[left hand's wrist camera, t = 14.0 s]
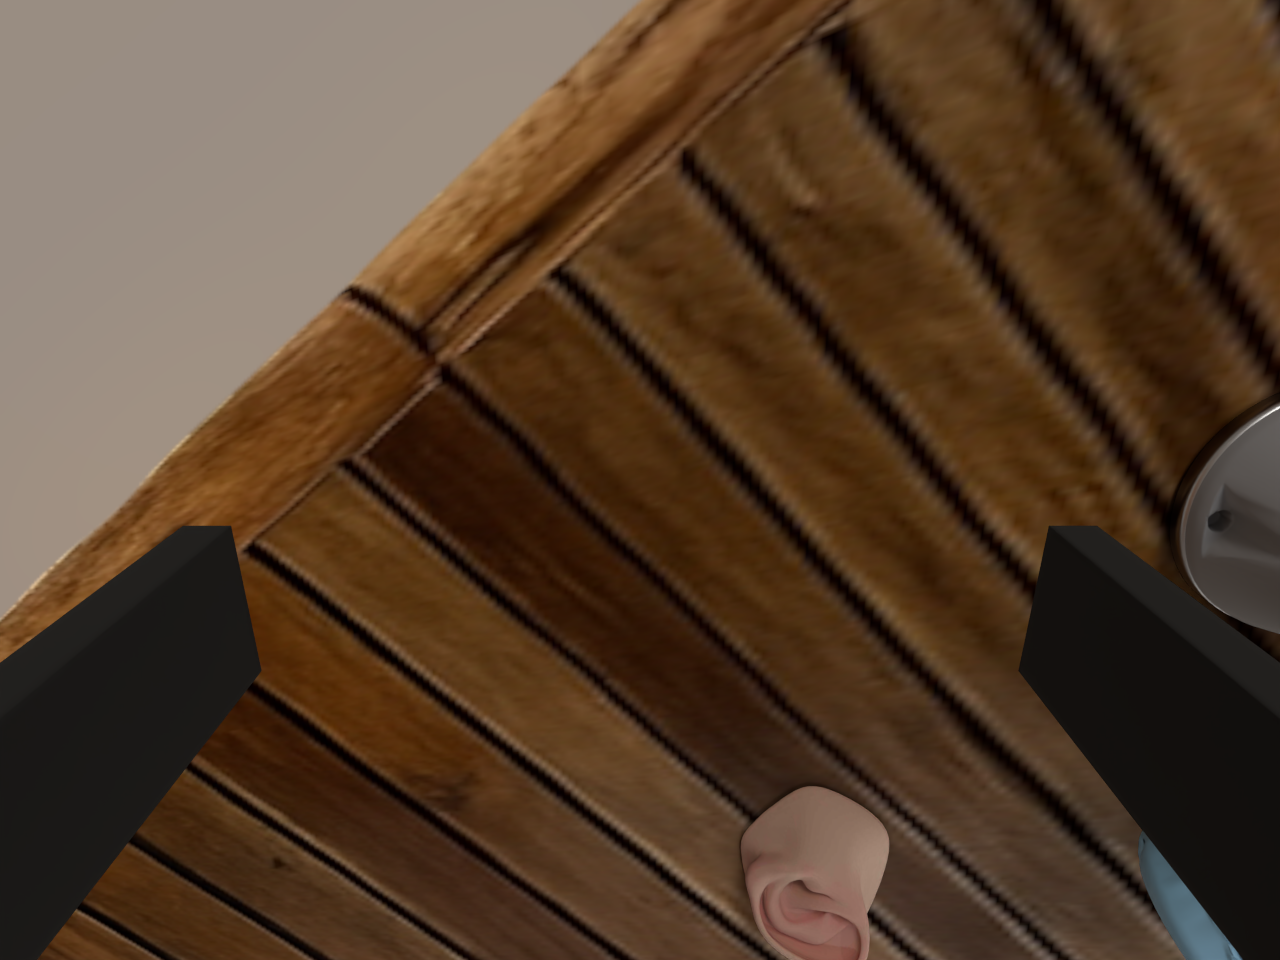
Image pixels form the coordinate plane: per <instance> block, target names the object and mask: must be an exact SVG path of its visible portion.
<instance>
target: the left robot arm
mask: <svg viewBox="0 0 1280 960" xmlns="http://www.w3.org/2000/svg"><path fill="white" fill-rule="evenodd" d="M1170 543H1171V550H1172V554H1173V558H1174V560H1175V563H1176V566H1177V568H1178V570H1179V572H1180V573H1181V575H1182V577H1183V578H1184V580H1185V581H1186V582H1187V584H1188V585H1189V586H1190V587H1191V588H1192V589H1193V590H1194V591H1195V592H1196V593H1198V594H1199V595H1200V596H1201V597H1203V598H1204V599H1205V600H1207V601H1208V602H1209V603H1211V604H1212V605H1213V606H1215V607H1216V608H1218V609H1219V610H1221V611H1222V612H1224V613H1226V614H1228V615H1230V616H1232V617H1234V618H1236V619H1238V620H1240V621H1242V622H1244V623H1247V624H1249V625H1252V626H1255V627H1258V628H1261V629H1265V630H1268V631H1271V632H1275V633H1278V634H1280V393H1277V394H1275V395H1273V396H1271V397H1269V398H1267V399H1265V400H1263V401H1261V402H1259V403H1257V404H1256V405H1254V406H1252V407H1251V408H1249V409H1247V410H1246V411H1244V412H1243V413H1242V414H1240V415H1239V416H1237V417H1236V418H1235V419H1233V420H1232V421H1231V422H1230V423H1228V424H1227V425H1226V426H1225V427H1224V428H1223V429H1222V430H1221V431H1219V432H1218V433H1217V434H1216V435H1215V436H1214V437H1213V438H1212V439H1211V441H1210V442H1209V443H1208V444H1207V445H1206V446H1205V447H1204V448H1203V450H1202V451H1201V452H1200V454H1199V455H1198V456H1197V457H1196V459H1195V460H1194V462H1193V463H1192V465H1191V466H1190V468H1189V470H1188V471H1187V473H1186V475H1185V477H1184V479H1183V481H1182V483H1181V485H1180V488H1179V490H1178V492H1177V495H1176V498H1175V501H1174V505H1173V509H1172V514H1171V521H1170ZM260 672H261V666H260V662H259V657H258V652H257V647H256V643H255V638H254V633H253V628H252V624H251V619H250V614H249V609H248V605H247V600H246V595H245V590H244V586H243V581H242V576H241V571H240V567H239V562H238V557H237V552H236V548H235V543H234V538H233V533H232V529H231V526H182V527H181V528H180V529H178V530H177V531H176V532H174V533H173V534H172V535H170V536H169V537H168V538H166V539H165V540H164V541H162V542H161V543H160V544H158V545H157V546H156V547H154V548H153V549H152V550H150V551H149V552H148V553H146V554H145V555H144V556H142V557H141V558H140V559H138V560H137V561H136V562H134V563H133V564H132V565H130V566H129V567H128V568H126V569H125V570H124V571H122V572H121V573H120V574H118V575H117V576H116V577H114V578H113V579H112V580H110V581H109V582H108V583H106V584H105V585H104V586H102V587H101V588H100V589H98V590H97V591H96V592H94V593H93V594H91V595H90V596H89V597H87V598H86V599H85V600H83V601H82V602H81V603H79V604H78V605H77V606H75V607H74V608H73V609H71V610H70V611H69V612H67V613H66V614H65V615H63V616H62V617H61V618H59V619H58V620H57V621H55V622H54V623H53V624H51V625H50V626H49V627H47V628H46V629H45V630H43V631H42V632H41V633H39V634H38V635H37V636H35V637H34V638H33V639H31V640H30V641H29V642H27V643H26V644H25V645H23V646H22V647H21V648H19V649H18V650H17V651H15V652H14V653H13V654H11V655H10V656H9V657H7V658H6V659H5V660H3V661H2V662H1V663H0V960H37V959H38V958H39V956H40V955H41V954H42V952H43V951H44V950H45V949H46V947H47V946H48V945H49V943H50V942H51V941H52V940H53V938H54V937H55V936H56V934H57V933H58V932H59V931H60V929H61V928H62V927H63V925H64V924H65V923H66V922H67V920H68V919H69V918H70V916H71V915H72V914H73V913H74V911H75V910H76V909H77V907H78V906H79V905H80V904H81V902H82V901H83V900H84V898H85V897H86V896H87V895H88V893H89V892H90V891H91V889H92V888H93V887H94V886H95V884H96V883H97V882H98V880H99V879H100V878H101V877H102V875H103V874H104V873H105V871H106V870H107V869H108V868H109V866H110V865H111V864H112V862H113V861H114V860H115V859H116V857H117V856H118V855H119V853H120V852H121V851H122V850H123V848H124V847H125V846H126V844H127V843H128V842H129V841H130V839H131V838H132V837H133V835H134V834H135V833H136V832H137V830H138V829H139V828H140V826H141V825H142V824H143V823H144V821H145V820H146V819H147V817H148V816H149V815H150V814H151V812H152V811H153V810H154V808H155V807H156V806H157V805H158V803H159V802H160V801H161V799H162V798H163V797H164V796H165V794H166V793H167V792H168V790H169V789H170V788H171V787H172V785H173V784H174V783H175V781H176V780H177V779H178V778H179V776H180V775H181V774H182V772H183V771H184V770H185V769H186V767H187V766H188V765H189V763H190V762H191V761H192V760H193V758H194V757H195V756H196V754H197V753H198V752H199V751H200V749H201V748H202V747H203V745H204V744H205V743H206V741H207V740H208V739H209V738H210V736H211V735H212V734H213V733H214V731H215V730H216V729H217V727H218V726H219V725H220V723H221V722H222V721H223V720H224V718H225V717H226V716H227V714H228V713H229V712H230V711H231V709H232V708H233V707H234V705H235V704H236V703H237V702H238V700H239V699H240V698H241V696H242V695H243V694H244V693H245V691H246V690H247V689H248V687H249V686H250V685H251V684H252V682H253V681H254V680H255V678H256V677H257V676H258V675H259V673H260ZM1019 672H1020V673H1021V675H1022V676H1023V677H1024V678H1025V680H1026V681H1027V682H1028V684H1029V685H1030V686H1031V687H1032V689H1033V690H1034V691H1035V693H1036V694H1037V695H1038V696H1039V698H1040V699H1041V700H1042V702H1043V703H1044V704H1045V705H1046V707H1047V708H1048V709H1049V711H1050V712H1051V713H1052V714H1053V716H1054V717H1055V718H1056V720H1057V721H1058V722H1059V724H1060V725H1061V726H1062V727H1063V729H1064V730H1065V731H1066V733H1067V734H1068V735H1069V736H1070V738H1071V739H1072V740H1073V742H1074V743H1075V744H1076V745H1077V747H1078V748H1079V749H1080V751H1081V752H1082V753H1083V754H1084V756H1085V757H1086V758H1087V760H1088V761H1089V762H1090V763H1091V765H1092V766H1093V767H1094V769H1095V770H1096V771H1097V772H1098V774H1099V775H1100V776H1101V778H1102V779H1103V780H1104V781H1105V783H1106V784H1107V785H1108V787H1109V788H1110V789H1111V790H1112V792H1113V793H1114V794H1115V796H1116V797H1117V798H1118V799H1119V801H1120V802H1121V803H1122V805H1123V806H1124V807H1125V808H1126V810H1127V811H1128V812H1129V814H1130V815H1131V816H1132V817H1133V819H1134V820H1135V821H1136V823H1137V824H1138V825H1139V826H1140V828H1141V829H1142V832H1141V835H1140V838H1139V848H1138V855H1139V860H1140V863H1139V865H1140V869H1141V874H1142V878H1143V880H1144V883H1145V886H1146V889H1147V891H1148V893H1149V896H1150V898H1151V900H1152V902H1153V904H1154V906H1155V908H1156V910H1157V912H1158V914H1159V916H1160V918H1161V920H1162V922H1163V923H1164V925H1165V927H1166V928H1167V930H1168V932H1169V934H1170V935H1171V937H1172V938H1173V940H1174V942H1175V943H1176V945H1177V946H1178V948H1179V950H1180V951H1181V953H1182V954H1183V956H1184V957H1185V959H1186V960H1280V663H1279V662H1278V661H1277V660H1275V659H1274V658H1273V657H1271V656H1270V655H1269V654H1267V653H1266V652H1265V651H1263V650H1262V649H1261V648H1259V647H1258V646H1257V645H1255V644H1254V643H1253V642H1251V641H1250V640H1249V639H1247V638H1246V637H1245V636H1243V635H1242V634H1241V633H1239V632H1238V631H1237V630H1235V629H1234V628H1233V627H1231V626H1230V625H1229V624H1227V623H1226V622H1225V621H1223V620H1222V619H1221V618H1219V617H1218V616H1217V615H1215V614H1214V613H1213V612H1211V611H1210V610H1209V609H1207V608H1206V607H1205V606H1203V605H1202V604H1201V603H1199V602H1198V601H1197V600H1195V599H1194V598H1193V597H1191V596H1190V595H1189V594H1187V593H1186V592H1184V591H1183V590H1182V589H1180V588H1179V587H1178V586H1176V585H1175V584H1174V583H1172V582H1171V581H1170V580H1168V579H1167V578H1166V577H1164V576H1163V575H1162V574H1160V573H1159V572H1158V571H1156V570H1155V569H1154V568H1152V567H1151V566H1150V565H1148V564H1147V563H1146V562H1144V561H1143V560H1142V559H1140V558H1139V557H1138V556H1136V555H1135V554H1134V553H1132V552H1131V551H1130V550H1128V549H1127V548H1126V547H1124V546H1123V545H1122V544H1120V543H1119V542H1118V541H1116V540H1115V539H1114V538H1112V537H1111V536H1110V535H1108V534H1107V533H1106V532H1104V531H1103V530H1102V529H1100V528H1099V527H1098V526H1049V529H1048V533H1047V538H1046V543H1045V548H1044V552H1043V557H1042V562H1041V567H1040V571H1039V576H1038V581H1037V586H1036V590H1035V595H1034V600H1033V605H1032V609H1031V614H1030V619H1029V624H1028V628H1027V633H1026V638H1025V643H1024V647H1023V652H1022V657H1021V662H1020V666H1019Z"/></svg>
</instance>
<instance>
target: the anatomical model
mask: <svg viewBox="0 0 1280 960" xmlns="http://www.w3.org/2000/svg"><path fill="white" fill-rule="evenodd" d="M888 853H889V838H888V834H887V831H886V829H885V828H884V826H883V824H882V823H881V822H880V821H879V820H878V819H877V818H876V817H875V816H874V815H873V814H872V813H871V812H869V811H868V810H867V809H865V808H864V807H862V806H861V805H859V804H858V803H856V802H854V801H852V800H851V799H849V798H847V797H845V796H843V795H841V794H839V793H836V792H834V791H832V790H829V789H826V788H823V787H817V786H807V787H803V788H800V789H798V790H795V791H793V792H792V793H790V794H788V795H787V796H785V797H784V798H782V799H781V800H779V801H778V802H777V803H775V804H774V805H773V806H771V807H770V808H769V809H767V810H766V811H765V812H764V813H763V814H762V815H760V816H759V817H758V818H757V819H756V820H755V821H754V822H753V823H752V824H751V825H750V826H749V827H748V829H747V830H746V832H745V833H744V835H743V837H742V840H741V856H742V863H743V868H744V873H745V882H746V887H747V891H748V895H749V899H750V903H751V908H752V913H753V916H754V920H755V922H756V925H757V927H758V929H759V931H760V933H761V934H762V936H763V937H764V938H765V940H766V941H767V942H768V943H769V944H770V945H771V946H772V947H773V948H774V949H776V950H777V951H778V952H779V953H781V954H782V955H783V956H785V957H787V958H788V959H790V960H867V957H868V951H869V923H868V917H867V912H868V910H869V909H870V906H871V904H872V902H873V900H874V897H875V895H876V892H877V890H878V887H879V885H880V882H881V879H882V876H883V873H884V870H885V866H886V862H887V858H888Z"/></svg>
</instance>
